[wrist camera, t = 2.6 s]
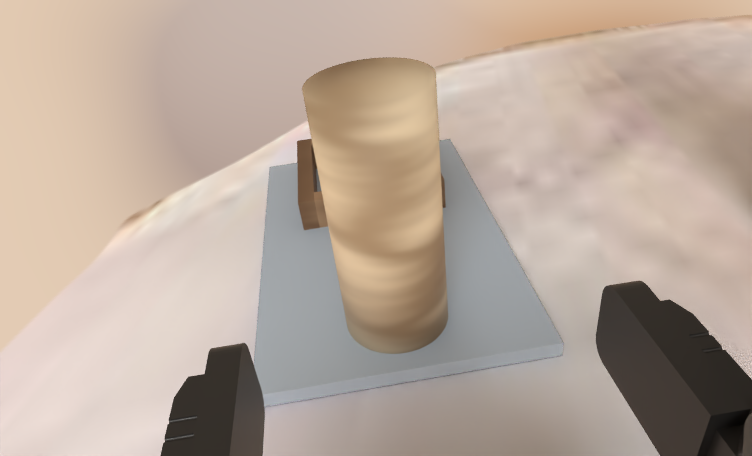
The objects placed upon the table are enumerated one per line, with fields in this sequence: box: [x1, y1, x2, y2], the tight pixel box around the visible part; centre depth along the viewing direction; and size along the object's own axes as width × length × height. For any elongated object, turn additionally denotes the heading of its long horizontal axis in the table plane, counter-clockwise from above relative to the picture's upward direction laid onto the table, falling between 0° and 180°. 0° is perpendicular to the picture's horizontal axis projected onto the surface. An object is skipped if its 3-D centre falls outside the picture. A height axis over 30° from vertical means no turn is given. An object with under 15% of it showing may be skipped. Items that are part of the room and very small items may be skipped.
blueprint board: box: [254, 139, 564, 407], centre depth 34 cm, size 14×22×1 cm, turn 7°
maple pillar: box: [302, 58, 448, 354], centre depth 24 cm, size 5×5×12 cm
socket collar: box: [297, 139, 446, 230], centre depth 38 cm, size 9×9×2 cm
